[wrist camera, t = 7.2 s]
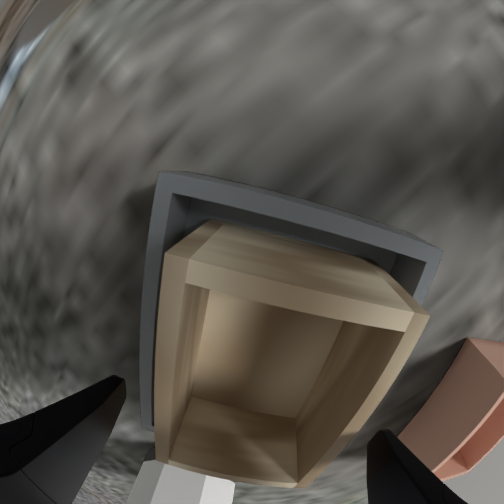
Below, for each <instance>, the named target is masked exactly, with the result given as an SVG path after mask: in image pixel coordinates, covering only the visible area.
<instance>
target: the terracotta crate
mask: <svg viewBox="0 0 504 504" xmlns="http://www.w3.org/2000/svg"><path fill="white" fill-rule="evenodd" d="M503 437H504V342H496V341H488V340H481V339H474V338H467V339H466V341H465V342H464V344H463V346H462V348H461V349H460V351H459V353H458V355H457V356H456V358H455V360H454V361H453V363H452V365H451V366H450V368H449V369H448V371H447V372H446V374H445V376H444V377H443V379H442V380H441V382H440V383H439V384H438V386H437V387H436V389H435V390H434V392H433V393H432V394H431V396H430V397H429V398H428V400H427V401H426V403H425V404H424V405H423V406H422V408H421V409H420V410H419V412H418V413H417V414H416V415H415V417H414V418H413V419H412V420H411V421H410V423H409V424H408V425H407V426H406V427H405V429H404V430H403V431H402V432H401V433H400V434H399V435H398V436H397V438H398V439H399V440H400V441H401V442H402V443H403V444H404V445H405V446H406V447H407V448H408V449H409V450H410V451H411V452H412V453H413V454H414V455H415V456H416V457H417V458H418V459H419V460H420V461H421V462H423V463H424V464H425V465H426V466H427V467H428V468H429V469H430V470H431V471H432V472H433V473H434V474H435V475H436V476H437V477H438V478H439V479H440V480H441V481H444V480H448V479H451V478H454V477H457V476H460V475H463V474H465V473H468V472H469V471H470V470H471V469H472V468H473V467H474V466H476V465H477V464H478V463H479V462H480V461H481V460H482V459H483V458H484V457H485V456H486V455H487V454H488V453H489V452H490V451H491V450H492V449H493V448H494V447H495V446H496V445H497V444H498V443H499V442H500V441H501V440H502V439H503Z"/></svg>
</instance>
